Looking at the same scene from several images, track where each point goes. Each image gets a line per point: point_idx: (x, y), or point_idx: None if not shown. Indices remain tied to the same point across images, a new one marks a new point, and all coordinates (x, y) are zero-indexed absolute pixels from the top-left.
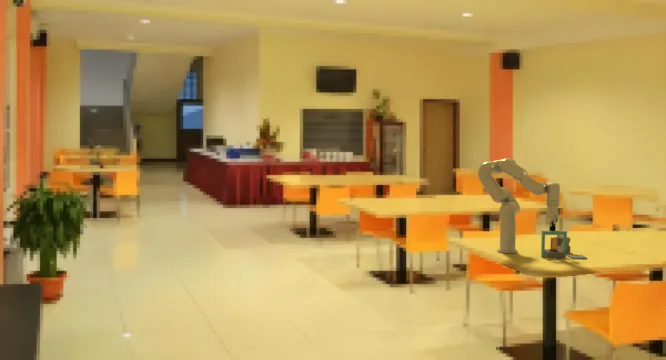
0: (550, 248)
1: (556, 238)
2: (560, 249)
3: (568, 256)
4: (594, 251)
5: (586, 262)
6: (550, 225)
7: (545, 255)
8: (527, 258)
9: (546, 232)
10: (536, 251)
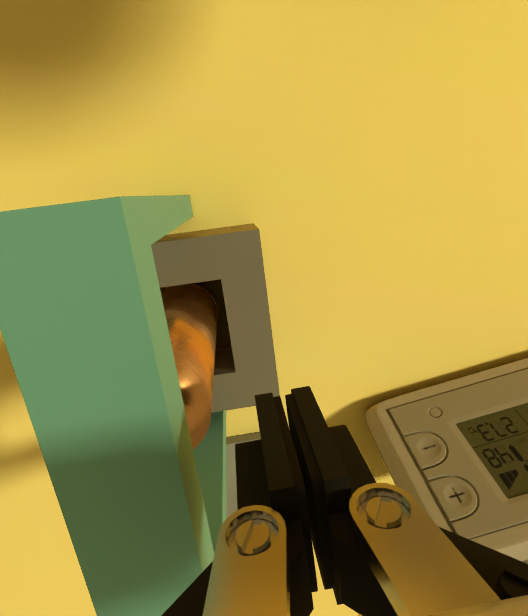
0: (169, 306)
1: None
2: (421, 409)
3: (237, 437)
4: None
5: (9, 535)
6: (353, 526)
7: (162, 237)
8: (39, 14)
9: (13, 309)
10: (494, 188)
